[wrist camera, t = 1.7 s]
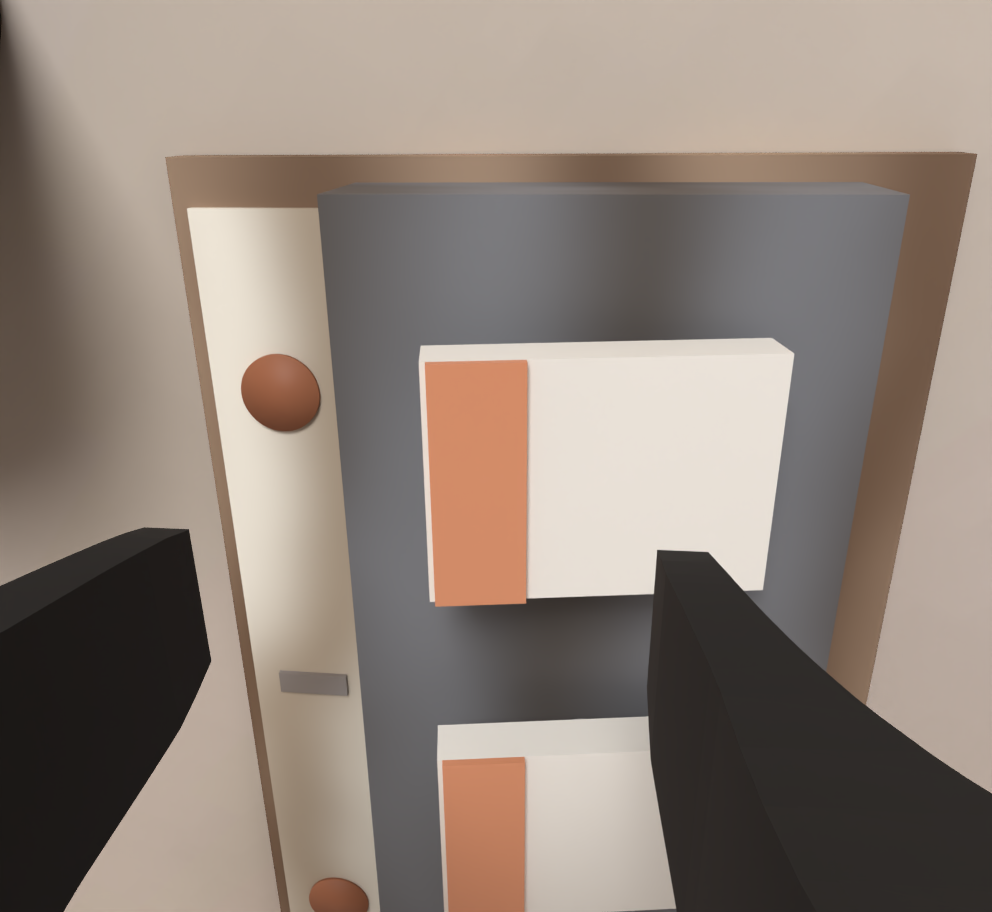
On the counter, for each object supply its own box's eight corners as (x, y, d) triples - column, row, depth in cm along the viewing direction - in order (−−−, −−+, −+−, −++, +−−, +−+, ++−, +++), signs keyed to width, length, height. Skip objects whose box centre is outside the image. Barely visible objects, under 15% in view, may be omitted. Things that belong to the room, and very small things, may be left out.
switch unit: (960, 151, 16) (1047, 161, 13) (790, 1022, 26) (817, 1145, 23) (182, 155, 18) (96, 164, 15) (302, 974, 28) (265, 1083, 25)
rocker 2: (718, 697, 18) (744, 753, 16) (701, 849, 19) (722, 912, 18) (438, 708, 17) (436, 766, 16) (444, 862, 19) (444, 927, 18)
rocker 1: (762, 330, 15) (797, 356, 13) (736, 549, 16) (765, 594, 15) (421, 337, 14) (418, 365, 13) (431, 560, 16) (429, 606, 15)
